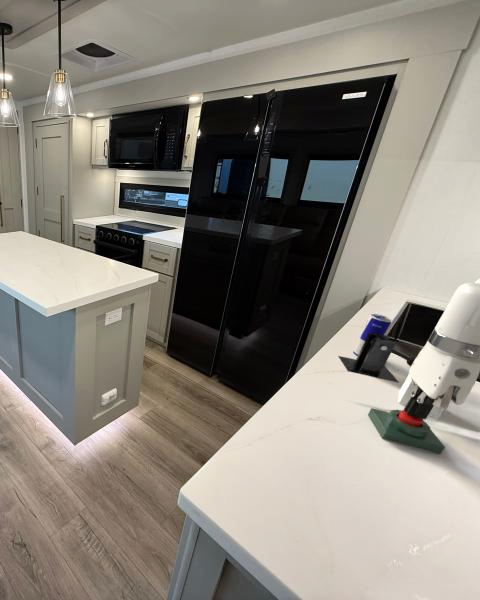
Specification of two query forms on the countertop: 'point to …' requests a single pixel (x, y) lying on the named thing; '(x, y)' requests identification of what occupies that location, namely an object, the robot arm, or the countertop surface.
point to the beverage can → (373, 329)
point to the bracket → (372, 358)
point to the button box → (405, 431)
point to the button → (410, 419)
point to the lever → (399, 354)
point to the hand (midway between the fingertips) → (414, 414)
